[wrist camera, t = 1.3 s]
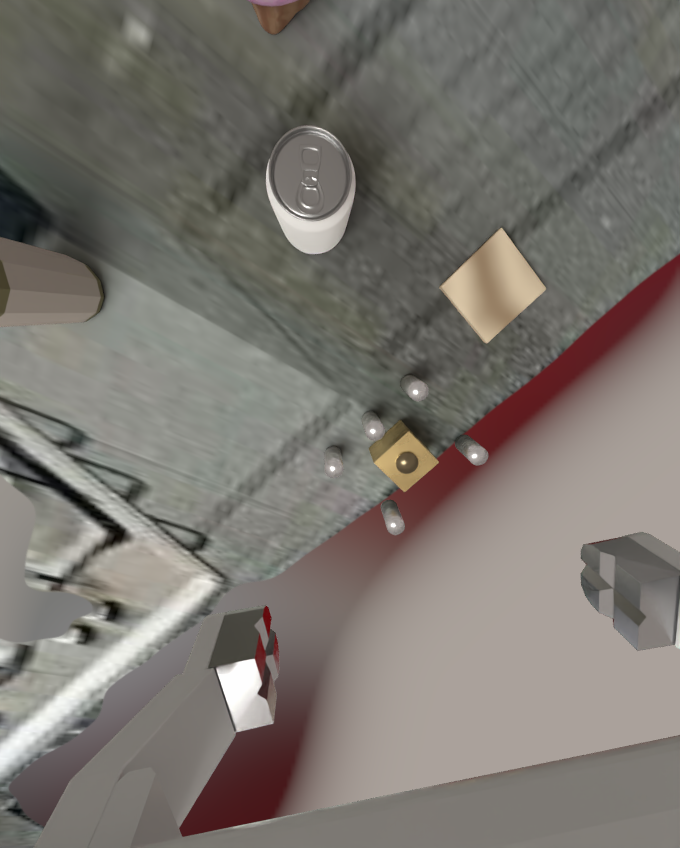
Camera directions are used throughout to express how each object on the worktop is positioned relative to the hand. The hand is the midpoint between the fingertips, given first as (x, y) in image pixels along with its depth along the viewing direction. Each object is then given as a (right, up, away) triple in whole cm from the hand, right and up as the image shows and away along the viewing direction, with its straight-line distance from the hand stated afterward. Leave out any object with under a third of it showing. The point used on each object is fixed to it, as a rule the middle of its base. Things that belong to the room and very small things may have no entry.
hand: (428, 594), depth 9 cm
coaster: (+14, +19, +29) cm, 37 cm away
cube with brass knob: (+5, +1, +34) cm, 34 cm away
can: (-5, +25, +27) cm, 37 cm away
